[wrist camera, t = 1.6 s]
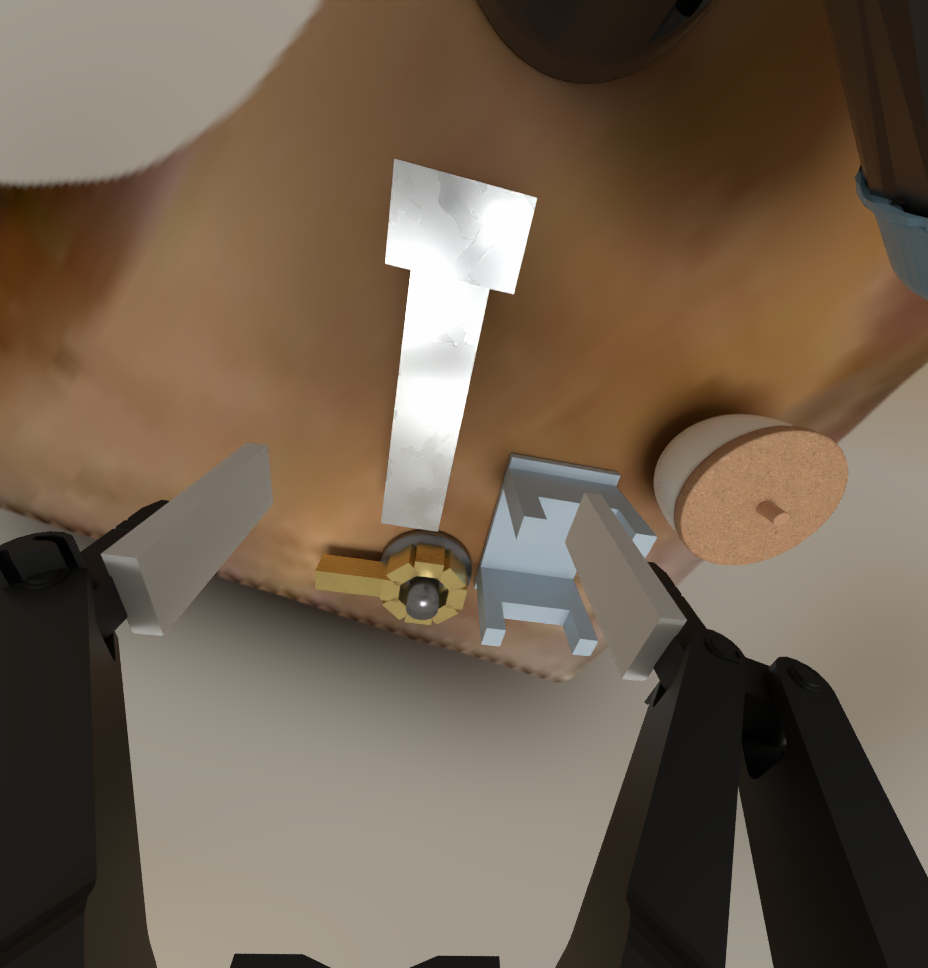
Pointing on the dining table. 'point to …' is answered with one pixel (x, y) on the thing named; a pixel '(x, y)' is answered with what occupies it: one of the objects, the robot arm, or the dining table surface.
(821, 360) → the dining table surface
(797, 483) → the lidded jar
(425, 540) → the nut base
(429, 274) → the white t-shaped plate
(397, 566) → the gold box wrench
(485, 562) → the rack
